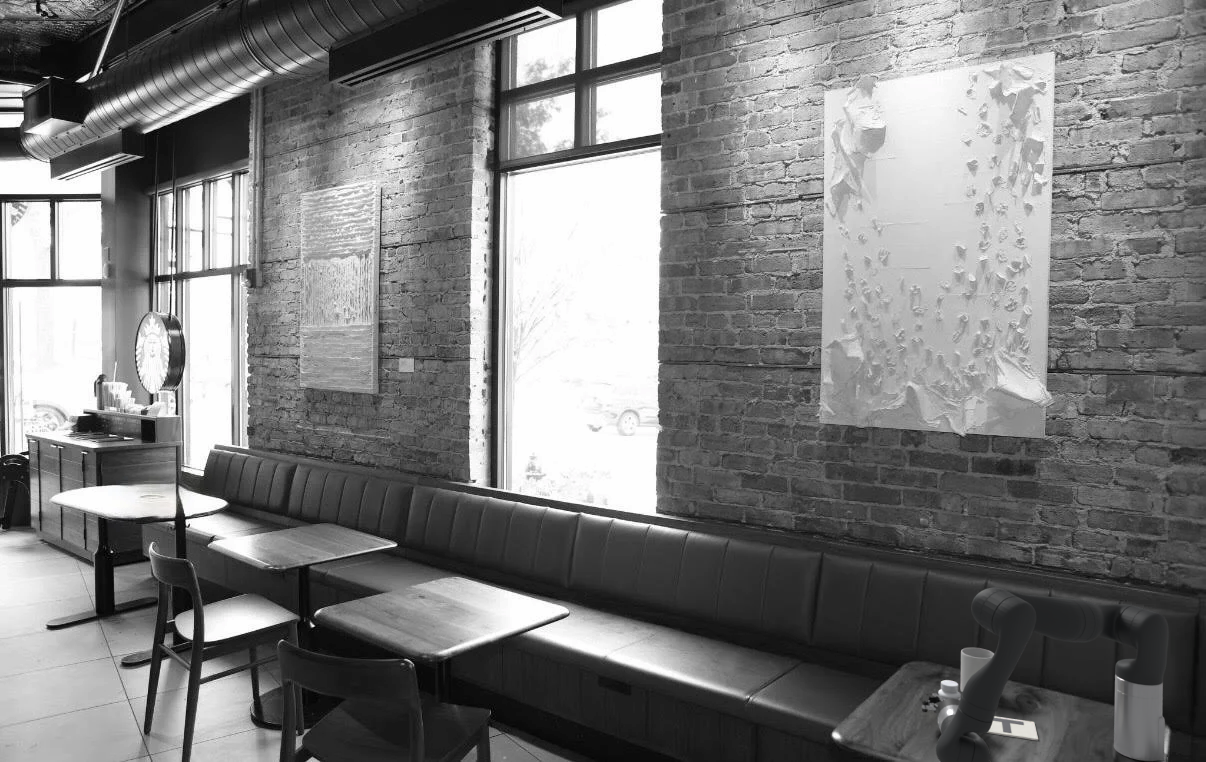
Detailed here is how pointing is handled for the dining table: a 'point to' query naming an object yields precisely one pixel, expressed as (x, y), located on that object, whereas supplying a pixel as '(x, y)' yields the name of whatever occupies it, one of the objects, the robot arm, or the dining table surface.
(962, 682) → the mug
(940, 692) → the supplement bottle
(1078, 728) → the dining table surface
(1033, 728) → the letter card
